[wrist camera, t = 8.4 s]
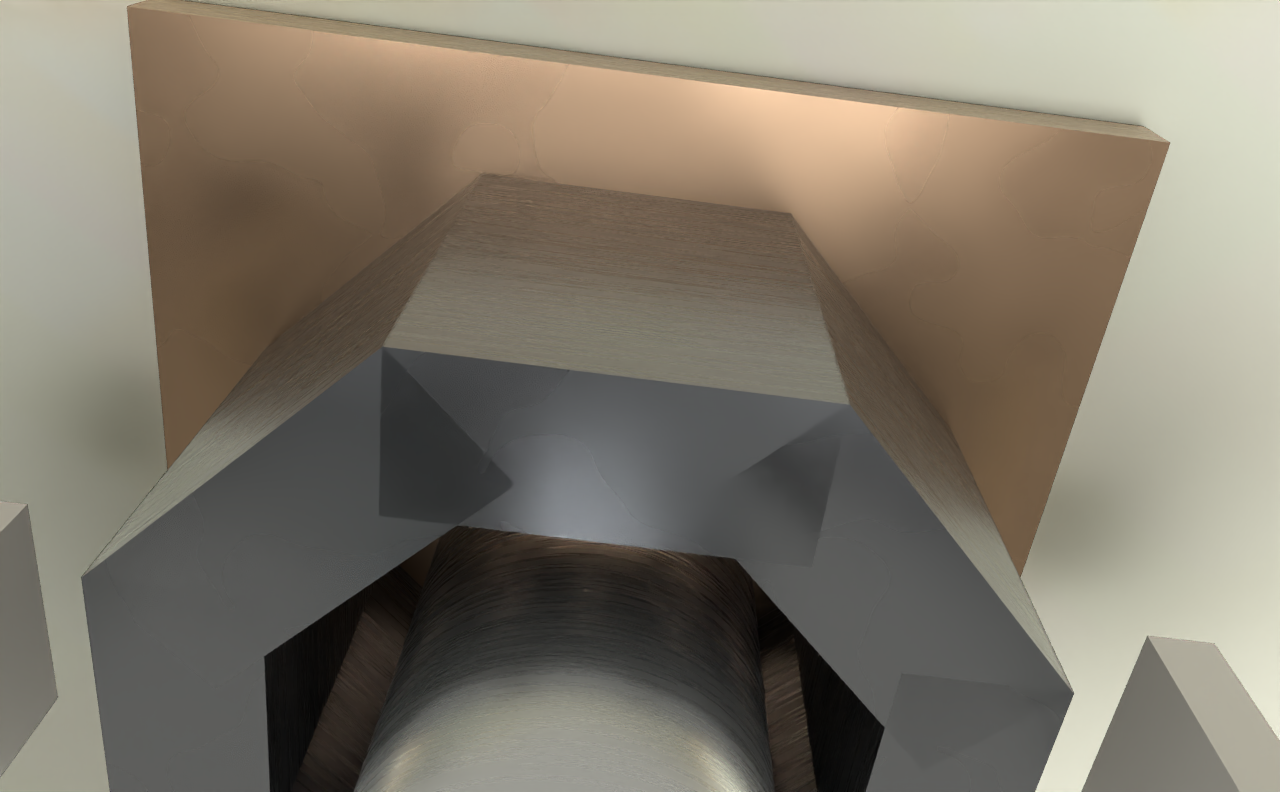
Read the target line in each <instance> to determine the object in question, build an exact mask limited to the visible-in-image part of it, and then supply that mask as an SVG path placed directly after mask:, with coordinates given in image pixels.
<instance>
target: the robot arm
mask: <svg viewBox="0 0 1280 792" xmlns="http://www.w3.org/2000/svg"><path fill="white" fill-rule="evenodd" d="M57 698H58V694H57V688H56V681H55V675H54V669H53V662H52V656H51V650H50V643H49V637H48V631H47V624H46V618H45V612H44V605H43V599H42V593H41V586H40V580H39V574H38V567H37V561H36V555H35V548H34V542H33V536H32V529H31V523H30V517H29V511H28V504H21V503H12V502H4V501H0V777H1V776H2V775H3V773H4V772H5V770H6V769H7V768H8V766H9V765H10V763H11V762H12V761H13V759H14V758H15V757H16V755H17V754H18V752H19V751H20V750H21V748H22V747H23V745H24V744H25V743H26V741H27V740H28V738H29V737H30V736H31V734H32V733H33V732H34V730H35V729H36V727H37V726H38V725H39V723H40V722H41V720H42V719H43V718H44V716H45V715H46V713H47V712H48V711H49V709H50V708H51V707H52V705H53V704H54V702H55V701H56V700H57ZM1082 792H1280V740H1279V739H1278V738H1277V736H1276V735H1275V733H1274V732H1273V730H1272V729H1271V727H1270V726H1269V724H1268V723H1267V721H1266V720H1265V718H1264V717H1263V715H1262V714H1261V712H1260V711H1259V709H1258V708H1257V706H1256V705H1255V703H1254V702H1253V700H1252V699H1251V697H1250V696H1249V694H1248V693H1247V691H1246V690H1245V688H1244V687H1243V685H1242V684H1241V682H1240V681H1239V679H1238V678H1237V676H1236V675H1235V673H1234V672H1233V670H1232V669H1231V667H1230V666H1229V664H1228V663H1227V661H1226V660H1225V658H1224V657H1223V655H1222V654H1221V652H1220V651H1219V649H1218V648H1217V646H1216V645H1215V643H1206V642H1198V641H1189V640H1181V639H1172V638H1163V637H1155V636H1147V638H1146V640H1145V643H1144V645H1143V647H1142V650H1141V652H1140V654H1139V657H1138V659H1137V662H1136V664H1135V666H1134V669H1133V671H1132V673H1131V676H1130V678H1129V681H1128V683H1127V685H1126V688H1125V690H1124V692H1123V695H1122V697H1121V699H1120V702H1119V704H1118V707H1117V709H1116V711H1115V714H1114V716H1113V718H1112V721H1111V723H1110V725H1109V728H1108V730H1107V733H1106V735H1105V737H1104V740H1103V742H1102V744H1101V747H1100V749H1099V752H1098V754H1097V756H1096V759H1095V761H1094V763H1093V766H1092V768H1091V770H1090V773H1089V775H1088V778H1087V780H1086V782H1085V785H1084V787H1083V789H1082Z"/></svg>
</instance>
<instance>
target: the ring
mask: <svg viewBox="0 0 1280 792" xmlns="http://www.w3.org/2000/svg"><path fill="white" fill-rule="evenodd" d="M457 525H459V526H468V527H476V528H484V529H493V530H501V531H509V532H518V533H526V534H534V535H543V536H551V537H559V538H568V539H576V540H585V541H593V542H601V543H610V544H618V545H626V546H635V547H643V548H651V549H660V550H668V551H676V552H685V553H693V554H702V555H710V556H718V557H727V558H735V559H736V560H737V561H738V563H739V564H740V565H741V566H742V567H743V568H744V569H745V570H746V572H747V573H748V574H749V575H750V576H751V577H752V578H753V580H754V581H755V582H756V583H757V584H758V585H759V586H760V587H761V589H762V590H763V591H764V592H765V593H766V594H767V595H768V596H769V598H770V599H771V600H772V601H773V602H774V603H775V604H776V605H777V607H778V608H776V609H775V610H773V611H771V612H769V613H768V614H766V615H764V616H763V617H761V618H759V619H757V625H758V634H759V644H760V654H761V663H762V673H763V683H764V692H765V702H766V711H767V721H768V731H769V740H770V750H771V760H772V769H773V779H774V789H775V792H1035V790H1036V788H1037V785H1038V783H1039V780H1040V778H1041V775H1042V773H1043V770H1044V768H1045V765H1046V763H1047V760H1048V758H1049V755H1050V753H1051V750H1052V747H1053V745H1054V742H1055V740H1056V737H1057V735H1058V732H1059V730H1060V727H1061V725H1062V722H1063V720H1064V717H1065V715H1066V712H1067V710H1068V707H1069V705H1070V702H1071V700H1072V697H1073V695H1074V692H1073V690H1072V688H1071V686H1070V683H1069V681H1068V679H1067V677H1066V675H1065V673H1064V671H1063V668H1062V666H1061V664H1060V662H1059V660H1058V658H1057V656H1056V653H1055V651H1054V649H1053V647H1052V645H1051V643H1050V641H1049V638H1048V636H1047V634H1046V632H1045V630H1044V628H1043V625H1042V623H1041V621H1040V619H1039V617H1038V615H1037V613H1036V610H1035V608H1034V606H1033V604H1032V602H1031V600H1030V598H1029V595H1028V593H1027V591H1026V589H1025V587H1024V585H1023V583H1022V580H1021V578H1020V576H1019V574H1018V572H1017V570H1016V568H1015V565H1014V563H1013V561H1012V559H1011V557H1010V555H1009V553H1008V550H1007V548H1006V546H1005V544H1004V542H1003V540H1002V538H1001V535H1000V533H999V531H998V529H997V527H996V525H995V522H994V520H993V518H992V516H991V514H990V512H989V510H988V507H987V505H986V503H985V501H984V499H983V497H982V495H981V492H980V490H979V488H978V486H977V484H976V482H975V480H974V477H973V475H972V473H971V471H970V469H969V467H968V465H967V462H966V460H965V458H964V456H963V454H962V452H961V450H960V447H959V445H958V443H957V441H956V439H955V437H954V435H953V432H952V430H951V429H950V428H949V427H948V425H947V424H946V423H945V421H944V420H943V419H942V417H941V416H940V414H939V413H938V412H937V410H936V409H935V408H934V406H933V405H932V404H931V402H930V401H929V400H928V398H927V397H926V396H925V394H924V393H923V391H922V390H921V389H920V387H919V386H918V385H917V383H916V382H915V381H914V379H913V378H912V377H911V375H910V374H909V373H908V371H907V370H906V368H905V367H904V366H903V364H902V363H901V362H900V360H899V359H898V358H897V356H896V355H895V354H894V352H893V351H892V349H891V348H890V347H889V345H888V344H887V343H886V341H885V340H884V339H883V337H882V336H881V335H880V333H879V332H878V331H877V329H876V328H875V326H874V325H873V324H872V322H871V321H870V320H869V318H868V317H867V316H866V314H865V313H864V312H863V310H862V309H861V308H860V306H859V305H858V303H857V302H856V301H855V299H854V298H853V297H852V295H851V294H850V293H849V291H848V290H847V289H846V287H845V286H844V285H843V283H842V282H841V280H840V279H839V278H838V276H837V275H836V274H835V272H834V271H833V270H832V268H831V267H830V266H829V264H828V263H827V261H826V260H825V259H824V257H823V256H822V255H821V253H820V252H819V251H818V249H817V248H816V247H815V245H814V244H813V243H812V241H811V240H810V238H809V237H808V236H807V234H806V233H805V232H804V230H803V229H802V228H801V226H800V225H799V224H798V222H797V221H796V220H795V218H794V217H793V215H792V213H784V212H776V211H768V210H761V209H753V208H745V207H737V206H730V205H722V204H714V203H707V202H699V201H691V200H683V199H676V198H668V197H660V196H652V195H645V194H637V193H629V192H621V191H614V190H606V189H598V188H591V187H583V186H575V185H567V184H560V183H552V182H544V181H536V180H529V179H521V178H513V177H506V176H498V175H490V174H481V175H480V176H479V177H478V178H476V179H475V180H474V181H473V182H471V183H470V184H469V185H468V186H466V187H465V188H464V189H463V190H461V191H460V192H459V193H458V194H456V195H455V196H454V197H453V198H451V199H450V200H449V201H448V202H446V203H445V204H444V205H443V206H441V207H440V208H439V209H438V210H437V211H435V212H434V213H433V214H432V215H430V216H429V217H428V218H427V219H425V220H424V221H423V222H422V223H420V224H419V225H418V226H417V227H415V228H414V229H413V230H412V231H410V232H409V233H408V234H407V235H405V236H404V237H403V238H402V239H400V240H399V241H398V242H397V243H395V244H394V245H393V246H392V247H390V248H389V249H388V250H387V251H385V252H384V253H383V254H382V255H380V256H379V257H378V258H377V259H375V260H374V261H373V262H372V263H370V264H369V265H368V266H367V267H365V268H364V269H363V270H362V271H361V272H359V273H358V274H357V275H356V276H354V277H353V278H352V279H351V280H349V281H348V282H347V283H346V284H344V285H343V286H342V287H341V288H339V289H338V290H337V291H336V292H334V293H333V294H332V295H331V296H329V297H328V298H327V299H326V300H324V301H323V302H322V303H321V304H319V305H318V306H317V307H316V308H314V309H313V310H312V311H311V312H309V313H308V314H307V315H306V316H304V317H303V318H302V319H301V320H299V321H298V322H297V323H296V324H294V325H293V326H292V327H291V328H289V329H288V330H287V331H286V332H285V333H283V334H282V335H281V336H280V337H278V338H277V339H276V340H275V341H273V342H272V343H271V344H270V345H268V346H267V347H266V348H265V350H264V351H263V352H262V353H261V355H260V356H259V357H258V358H257V360H256V361H255V362H254V363H253V365H252V366H251V367H250V368H249V370H248V371H247V372H246V373H245V374H244V376H243V377H242V378H241V379H240V381H239V382H238V383H237V384H236V386H235V387H234V388H233V389H232V391H231V392H230V393H229V394H228V396H227V397H226V398H225V399H224V401H223V402H222V403H221V404H220V405H219V407H218V408H217V409H216V410H215V412H214V413H213V414H212V415H211V417H210V418H209V419H208V420H207V422H206V423H205V424H204V425H203V427H202V428H201V429H200V430H199V432H198V433H197V434H196V435H195V437H194V438H193V439H192V440H191V441H190V443H189V444H188V445H187V446H186V448H185V449H184V450H183V451H182V453H181V454H180V455H179V456H178V458H177V459H176V460H175V461H174V463H173V464H172V465H171V466H170V468H169V469H168V470H167V471H166V473H165V474H164V475H163V476H162V477H161V479H160V480H159V481H158V482H157V484H156V485H155V486H154V487H153V489H152V490H151V491H150V492H149V494H148V495H147V496H146V497H145V499H144V500H143V501H142V502H141V504H140V505H139V506H138V507H137V508H136V510H135V511H134V512H133V513H132V515H131V516H130V517H129V518H128V520H127V521H126V522H125V523H124V525H123V526H122V527H121V528H120V530H119V531H118V532H117V533H116V535H115V536H114V537H113V538H112V540H111V541H110V542H109V543H108V544H107V546H106V547H105V548H104V549H103V551H102V552H101V553H100V554H99V556H98V557H97V558H96V559H95V561H94V562H93V563H92V564H91V566H90V567H89V568H88V569H87V571H86V572H85V573H84V574H83V576H82V577H81V579H82V586H83V594H84V601H85V609H86V616H87V624H88V631H89V639H90V646H91V654H92V661H93V669H94V676H95V683H96V691H97V698H98V706H99V713H100V721H101V728H102V736H103V743H104V751H105V758H106V765H107V773H108V780H109V788H110V792H354V789H355V786H356V783H357V780H358V777H359V775H360V772H361V769H362V766H363V763H364V760H365V757H366V754H367V751H368V748H369V745H370V742H371V739H372V736H373V733H374V730H375V727H376V724H377V721H378V718H379V715H380V712H381V710H382V707H383V704H384V701H385V698H386V695H387V692H388V689H389V686H390V683H391V680H392V677H393V674H394V671H395V668H396V665H397V662H398V659H399V656H400V653H401V650H402V647H403V644H404V642H405V639H406V636H407V633H408V630H409V627H410V624H411V621H412V618H413V615H414V612H415V609H416V606H417V603H418V600H419V597H420V594H421V591H422V588H423V587H421V586H420V585H419V584H418V583H417V582H416V581H415V580H414V579H413V578H412V577H411V576H410V575H409V574H408V573H407V572H406V571H405V570H404V569H403V568H402V567H401V566H399V564H401V563H402V562H404V561H405V560H407V559H408V558H410V557H411V556H412V555H414V554H415V553H417V552H418V551H420V550H421V549H423V548H424V547H426V546H427V545H429V544H430V543H432V542H433V541H435V540H436V539H437V538H439V537H440V536H442V535H443V534H445V533H446V532H448V531H449V530H451V529H452V528H454V527H455V526H457Z"/></svg>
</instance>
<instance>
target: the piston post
mask: <svg viewBox="0 0 1280 792" xmlns="http://www.w3.org/2000/svg"><path fill="white" fill-rule="evenodd" d="M127 12H128V24H129V35H130V46H131V58H132V69H133V81H134V92H135V104H136V115H137V127H138V138H139V149H140V161H141V172H142V184H143V195H144V207H145V218H146V230H147V241H148V252H149V264H150V275H151V287H152V298H153V310H154V321H155V333H156V344H157V355H158V367H159V378H160V390H161V401H162V413H163V424H164V436H165V447H166V458H167V470H168V469H169V468H170V466H171V465H172V464H173V463H174V461H175V460H176V459H177V458H178V456H179V455H180V454H181V453H182V451H183V450H184V449H185V448H186V446H187V445H188V444H189V443H190V441H191V440H192V439H193V438H194V437H195V435H196V434H197V433H198V432H199V430H200V429H201V428H202V427H203V425H204V424H205V423H206V422H207V420H208V419H209V418H210V417H211V415H212V414H213V413H214V412H215V410H216V409H217V408H218V407H219V405H220V404H221V403H222V402H223V401H224V399H225V398H226V397H227V396H228V394H229V393H230V392H231V391H232V389H233V388H234V387H235V386H236V384H237V383H238V382H239V381H240V379H241V378H242V377H243V376H244V374H245V373H246V372H247V371H248V370H249V368H250V367H251V366H252V365H253V363H254V362H255V361H256V360H257V358H258V357H259V356H260V355H261V353H262V352H263V351H264V350H265V348H266V347H267V346H268V345H270V344H271V343H272V342H273V341H275V340H276V339H277V338H278V337H280V336H281V335H282V334H283V333H285V332H286V331H287V330H288V329H289V328H291V327H292V326H293V325H294V324H296V323H297V322H298V321H299V320H301V319H302V318H303V317H304V316H306V315H307V314H308V313H309V312H311V311H312V310H313V309H314V308H316V307H317V306H318V305H319V304H321V303H322V302H323V301H324V300H326V299H327V298H328V297H329V296H331V295H332V294H333V293H334V292H336V291H337V290H338V289H339V288H341V287H342V286H343V285H344V284H346V283H347V282H348V281H349V280H351V279H352V278H353V277H354V276H356V275H357V274H358V273H359V272H361V271H362V270H363V269H364V268H365V267H367V266H368V265H369V264H370V263H372V262H373V261H374V260H375V259H377V258H378V257H379V256H380V255H382V254H383V253H384V252H385V251H387V250H388V249H389V248H390V247H392V246H393V245H394V244H395V243H397V242H398V241H399V240H400V239H402V238H403V237H404V236H405V235H407V234H408V233H409V232H410V231H412V230H413V229H414V228H415V227H417V226H418V225H419V224H420V223H422V222H423V221H424V220H425V219H427V218H428V217H429V216H430V215H432V214H433V213H434V212H435V211H437V210H438V209H439V208H440V207H441V206H443V205H444V204H445V203H446V202H448V201H449V200H450V199H451V198H453V197H454V196H455V195H456V194H458V193H459V192H460V191H461V190H463V189H464V188H465V187H466V186H468V185H469V184H470V183H471V182H473V181H474V180H475V179H476V178H478V177H479V176H480V175H481V174H490V175H498V176H506V177H513V178H521V179H529V180H536V181H544V182H552V183H560V184H567V185H575V186H583V187H591V188H598V189H606V190H614V191H621V192H629V193H637V194H645V195H652V196H660V197H668V198H676V199H683V200H691V201H699V202H707V203H714V204H722V205H730V206H737V207H745V208H753V209H761V210H768V211H776V212H784V213H792V215H793V217H794V218H795V220H796V221H797V222H798V224H799V225H800V226H801V228H802V229H803V230H804V232H805V233H806V234H807V236H808V237H809V238H810V240H811V241H812V243H813V244H814V245H815V247H816V248H817V249H818V251H819V252H820V253H821V255H822V256H823V257H824V259H825V260H826V261H827V263H828V264H829V266H830V267H831V268H832V270H833V271H834V272H835V274H836V275H837V276H838V278H839V279H840V280H841V282H842V283H843V285H844V286H845V287H846V289H847V290H848V291H849V293H850V294H851V295H852V297H853V298H854V299H855V301H856V302H857V303H858V305H859V306H860V308H861V309H862V310H863V312H864V313H865V314H866V316H867V317H868V318H869V320H870V321H871V322H872V324H873V325H874V326H875V328H876V329H877V331H878V332H879V333H880V335H881V336H882V337H883V339H884V340H885V341H886V343H887V344H888V345H889V347H890V348H891V349H892V351H893V352H894V354H895V355H896V356H897V358H898V359H899V360H900V362H901V363H902V364H903V366H904V367H905V368H906V370H907V371H908V373H909V374H910V375H911V377H912V378H913V379H914V381H915V382H916V383H917V385H918V386H919V387H920V389H921V390H922V391H923V393H924V394H925V396H926V397H927V398H928V400H929V401H930V402H931V404H932V405H933V406H934V408H935V409H936V410H937V412H938V413H939V414H940V416H941V417H942V419H943V420H944V421H945V423H946V424H947V425H948V427H949V428H950V429H951V430H952V432H953V435H954V437H955V439H956V441H957V443H958V445H959V447H960V450H961V452H962V454H963V456H964V458H965V460H966V462H967V465H968V467H969V469H970V471H971V473H972V475H973V477H974V480H975V482H976V484H977V486H978V488H979V490H980V492H981V495H982V497H983V499H984V501H985V503H986V505H987V507H988V510H989V512H990V514H991V516H992V518H993V520H994V522H995V525H996V527H997V529H998V531H999V533H1000V535H1001V538H1002V540H1003V542H1004V544H1005V546H1006V548H1007V550H1008V553H1009V555H1010V557H1011V559H1012V561H1013V563H1014V565H1015V568H1016V570H1017V572H1018V574H1019V576H1020V577H1021V574H1022V571H1023V568H1024V566H1025V563H1026V560H1027V557H1028V554H1029V551H1030V548H1031V545H1032V542H1033V539H1034V537H1035V534H1036V531H1037V528H1038V525H1039V522H1040V519H1041V516H1042V513H1043V510H1044V508H1045V505H1046V502H1047V499H1048V496H1049V493H1050V490H1051V487H1052V484H1053V481H1054V479H1055V476H1056V473H1057V470H1058V467H1059V464H1060V461H1061V458H1062V455H1063V452H1064V450H1065V447H1066V444H1067V441H1068V438H1069V435H1070V432H1071V429H1072V426H1073V423H1074V421H1075V418H1076V415H1077V412H1078V409H1079V406H1080V403H1081V400H1082V397H1083V394H1084V392H1085V389H1086V386H1087V383H1088V380H1089V377H1090V374H1091V371H1092V368H1093V365H1094V363H1095V360H1096V357H1097V354H1098V351H1099V348H1100V345H1101V342H1102V339H1103V336H1104V334H1105V331H1106V328H1107V325H1108V322H1109V319H1110V316H1111V313H1112V310H1113V308H1114V305H1115V302H1116V299H1117V296H1118V293H1119V290H1120V287H1121V284H1122V281H1123V279H1124V276H1125V273H1126V270H1127V267H1128V264H1129V261H1130V258H1131V255H1132V252H1133V250H1134V247H1135V244H1136V241H1137V238H1138V235H1139V232H1140V229H1141V226H1142V223H1143V221H1144V218H1145V215H1146V212H1147V209H1148V206H1149V203H1150V200H1151V197H1152V194H1153V192H1154V189H1155V186H1156V183H1157V180H1158V177H1159V174H1160V171H1161V168H1162V165H1163V163H1164V160H1165V157H1166V154H1167V151H1168V148H1169V145H1170V142H1168V141H1167V140H1165V139H1163V138H1162V137H1160V136H1159V135H1157V134H1155V133H1154V132H1152V131H1150V130H1149V129H1147V128H1146V127H1144V126H1136V125H1129V124H1121V123H1113V122H1106V121H1098V120H1090V119H1083V118H1075V117H1068V116H1060V115H1052V114H1045V113H1037V112H1029V111H1022V110H1014V109H1006V108H999V107H991V106H984V105H976V104H968V103H961V102H953V101H945V100H938V99H930V98H923V97H915V96H907V95H900V94H892V93H884V92H877V91H869V90H862V89H854V88H846V87H839V86H831V85H823V84H816V83H808V82H801V81H793V80H785V79H778V78H770V77H762V76H755V75H747V74H740V73H732V72H724V71H717V70H709V69H701V68H694V67H686V66H679V65H671V64H663V63H656V62H648V61H640V60H633V59H625V58H618V57H610V56H602V55H595V54H587V53H579V52H572V51H564V50H556V49H549V48H541V47H534V46H526V45H518V44H511V43H503V42H495V41H488V40H480V39H473V38H465V37H457V36H450V35H442V34H434V33H427V32H419V31H412V30H404V29H396V28H389V27H381V26H373V25H366V24H358V23H351V22H343V21H335V20H328V19H320V18H312V17H305V16H297V15H290V14H282V13H274V12H267V11H259V10H251V9H244V8H236V7H229V6H221V5H213V4H206V3H198V2H190V1H183V0H146V1H143V2H139V3H136V4H133V5H130V6H127ZM399 566H401V567H402V568H403V569H404V570H405V571H406V572H407V573H408V574H409V575H410V576H411V577H412V578H413V579H414V580H415V581H416V582H417V583H418V584H419V585H420V586H421V587H423V588H422V591H421V594H420V597H419V600H418V603H417V606H416V609H415V612H414V615H413V618H412V621H411V624H410V627H409V630H408V633H407V636H406V639H405V642H404V644H403V647H402V650H401V653H400V656H399V659H398V662H397V665H396V668H395V671H394V674H393V677H392V680H391V683H390V686H389V689H388V692H387V695H386V698H385V701H384V704H383V707H382V710H381V712H380V715H379V718H378V721H377V724H376V727H375V730H374V733H373V736H372V739H371V742H370V745H369V748H368V751H367V754H366V757H365V760H364V763H363V766H362V769H361V772H360V775H359V777H358V780H357V783H356V786H355V789H354V792H775V789H774V779H773V769H772V760H771V750H770V740H769V731H768V721H767V711H766V702H765V692H764V683H763V673H762V663H761V654H760V644H759V634H758V625H757V619H759V618H761V617H763V616H764V615H766V614H768V613H769V612H771V611H773V610H775V609H776V608H778V607H777V605H776V604H775V603H774V602H773V601H772V600H771V599H770V598H769V596H768V595H767V594H766V593H765V592H764V591H763V590H762V589H761V587H760V586H759V585H758V584H757V583H756V582H755V581H754V580H753V578H752V577H751V576H750V575H749V574H748V573H747V572H746V570H745V569H744V568H743V567H742V566H741V565H740V564H739V563H738V561H737V560H736V559H735V558H727V557H718V556H710V555H702V554H693V553H685V552H676V551H668V550H660V549H651V548H643V547H635V546H626V545H618V544H610V543H601V542H593V541H585V540H576V539H568V538H559V537H551V536H543V535H534V534H526V533H518V532H509V531H501V530H493V529H484V528H476V527H468V526H459V525H457V526H455V527H454V528H452V529H451V530H449V531H448V532H446V533H445V534H443V535H442V536H440V537H439V538H437V539H436V540H435V541H433V542H432V543H430V544H429V545H427V546H426V547H424V548H423V549H421V550H420V551H418V552H417V553H415V554H414V555H412V556H411V557H410V558H408V559H407V560H405V561H404V562H402V563H401V564H399Z"/></svg>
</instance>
